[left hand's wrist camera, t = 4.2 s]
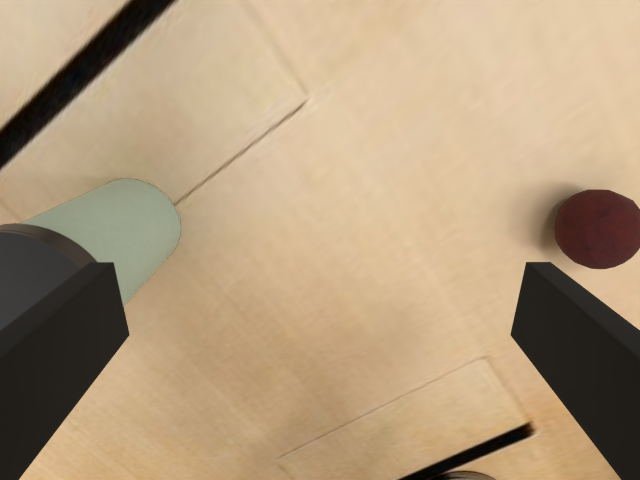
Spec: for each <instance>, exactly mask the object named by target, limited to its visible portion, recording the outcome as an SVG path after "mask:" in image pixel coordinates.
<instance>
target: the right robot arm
mask: <svg viewBox="0 0 640 480" xmlns="http://www.w3.org/2000/svg"><path fill="white" fill-rule="evenodd" d="M431 480H495V479H493V478H491V477H489V476H486V475H483V474H479V473H473V472H456V473H449V474H445V475H441V476H438V477H436V478H433V479H431Z"/></svg>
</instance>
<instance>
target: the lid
mask: <svg viewBox="0 0 640 480" xmlns="http://www.w3.org/2000/svg"><path fill="white" fill-rule="evenodd" d="M89 262H97V261H96V259H95V258H94V257H93V256H92V255H91V254H90V253H89V252H88V251H86V250H85V249H84V248H83V247H82V246H80V245H79V244H78V243H76V242H74V241H73V240H71V239H70V238H68V237H66V236H64V235H62V234H60V233H58V232H56V231H53V230H50V229H48V228H44V227H40V226H36V225H30V224H4V225H0V330H2V329H3V328H4V327H6V326H7V325H8V324H9V323H11V322H12V321H13V320H15V319H16V318H17V317H19V316H20V315H21V314H23V313H24V312H25V311H26V310H28V309H29V308H30V307H32V306H33V305H34V304H36V303H37V302H38V301H40V300H41V299H42V298H43V297H45V296H46V295H47V294H49V293H50V292H51V291H53V290H54V289H55V288H57V287H58V286H59V285H60V284H62V283H63V282H64V281H66V280H67V279H68V278H70V277H71V276H72V275H74V274H75V273H76V272H77V271H79V270H80V269H81V268H83V267H84V266H85V265H87V264H88V263H89Z"/></svg>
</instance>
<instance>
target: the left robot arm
mask: <svg viewBox="0 0 640 480" xmlns="http://www.w3.org/2000/svg"><path fill="white" fill-rule="evenodd" d="M128 336H129V331H128V326H127V321H126V317H125V312H124V307H123V303H122V298H121V294H120V289H119V284H118V280H117V275H116V270H115V266H114V262H89V263H88V264H87V265H85V266H84V267H83V268H81V269H80V270H79V271H77V272H76V273H75V274H74V275H72V276H71V277H70V278H68V279H67V280H66V281H64V282H63V283H62V284H60V285H59V286H58V287H57V288H55V289H54V290H53V291H51V292H50V293H49V294H47V295H46V296H45V297H43V298H42V299H41V300H40V301H38V302H37V303H36V304H34V305H33V306H32V307H30V308H29V309H28V310H26V311H25V312H24V313H23V314H21V315H20V316H19V317H17V318H16V319H15V320H13V321H12V322H11V323H9V324H8V325H7V326H6V327H4V328H3V329H2V330H0V480H19V478H20V477H21V476H22V475H23V473H24V472H25V471H26V469H27V468H28V467H29V465H30V464H31V463H32V462H33V460H34V459H35V458H36V456H37V455H38V454H39V452H40V451H41V450H42V448H43V447H44V446H45V445H46V443H47V442H48V441H49V439H50V438H51V437H52V435H53V434H54V433H55V431H56V430H57V429H58V428H59V426H60V425H61V424H62V422H63V421H64V420H65V418H66V417H67V416H68V415H69V413H70V412H71V411H72V409H73V408H74V407H75V405H76V404H77V403H78V401H79V400H80V399H81V398H82V396H83V395H84V394H85V392H86V391H87V390H88V388H89V387H90V386H91V384H92V383H93V382H94V381H95V379H96V378H97V377H98V375H99V374H100V373H101V371H102V370H103V369H104V367H105V366H106V365H107V364H108V362H109V361H110V360H111V358H112V357H113V356H114V354H115V353H116V352H117V351H118V349H119V348H120V347H121V345H122V344H123V343H124V341H125V340H126V339H127V337H128ZM511 336H512V337H513V339H514V340H515V341H516V343H517V344H518V345H519V347H520V348H521V349H522V351H523V352H524V353H525V354H526V356H527V357H528V358H529V360H530V361H531V362H532V364H533V365H534V366H535V367H536V369H537V370H538V371H539V373H540V374H541V375H542V377H543V378H544V379H545V381H546V382H547V383H548V384H549V386H550V387H551V388H552V390H553V391H554V392H555V394H556V395H557V396H558V398H559V399H560V400H561V401H562V403H563V404H564V405H565V407H566V408H567V409H568V411H569V412H570V413H571V415H572V416H573V417H574V418H575V420H576V421H577V422H578V424H579V425H580V426H581V428H582V429H583V430H584V431H585V433H586V434H587V435H588V437H589V438H590V439H591V441H592V442H593V443H594V445H595V446H596V447H597V448H598V450H599V451H600V452H601V454H602V455H603V456H604V458H605V459H606V460H607V462H608V463H609V464H610V465H611V467H612V468H613V469H614V471H615V472H616V473H617V475H618V476H619V477H620V478H621V480H640V330H638V329H637V328H636V327H634V326H633V325H632V324H631V323H629V322H628V321H627V320H625V319H624V318H623V317H621V316H620V315H619V314H617V313H616V312H615V311H614V310H612V309H611V308H610V307H608V306H607V305H606V304H604V303H603V302H602V301H600V300H599V299H598V298H597V297H595V296H594V295H593V294H591V293H590V292H589V291H587V290H586V289H585V288H583V287H582V286H581V285H580V284H578V283H577V282H576V281H574V280H573V279H572V278H570V277H569V276H568V275H566V274H565V273H564V272H563V271H561V270H560V269H559V268H557V267H556V266H555V265H553V264H552V263H551V262H526V266H525V270H524V275H523V280H522V284H521V289H520V294H519V298H518V303H517V307H516V312H515V317H514V321H513V326H512V331H511Z"/></svg>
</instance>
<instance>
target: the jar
mask: <svg viewBox="0 0 640 480" xmlns="http://www.w3.org/2000/svg"><path fill="white" fill-rule="evenodd" d="M20 224H30V225H36V226H40V227H44V228H48V229H50V230H53V231H56V232H58V233H60V234H62V235H64V236H66V237H68V238H70V239H71V240H73V241H74V242H76V243H78V244H79V245H80V246H82V247H83V248H84V249H85V250H86V251H88V252H89V253H90V254H91V255H92V256H93V257H94V258H95V259H96V261H97V262H114V266H115V270H116V275H117V280H118V284H119V289H120V294H121V298H122V303H123V307H124V306H125V305H126V304H127V302H128V301H129V300H130V299H131V298H132V297H133V296H134V295H135V293H136V292H137V291H138V290H139V289H140V288H141V287H142V286H143V284H144V283H145V282H146V281H147V280H148V279H149V278H150V277H151V275H152V274H153V273H154V272H155V271H156V270H157V269H158V268H159V266H160V265H161V264H162V263H163V262H164V261H165V260H166V259H167V257H168V256H169V255H170V254H171V253H172V252H173V250H174V249H175V248H176V246H177V244H178V242H179V239H180V234H181V224H180V219H179V215H178V213H177V210H176V208H175V206H174V205H173V203H172V202H171V201H170V199H169V198H168V197H167V196H166V195H165V194H164V193H163V192H162V191H160V190H159V189H158V188H156V187H154V186H153V185H151V184H148V183H146V182H143V181H140V180H135V179H119V180H115V181H112V182H109V183H107V184H105V185H103V186H100V187H98V188H96V189H94V190H92V191H89V192H87V193H85V194H83V195H81V196H79V197H76V198H74V199H72V200H70V201H68V202H65V203H63V204H61V205H59V206H57V207H55V208H52V209H50V210H48V211H46V212H44V213H41V214H39V215H37V216H35V217H33V218H30V219H28V220H26V221H24V222H22V223H20Z"/></svg>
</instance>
